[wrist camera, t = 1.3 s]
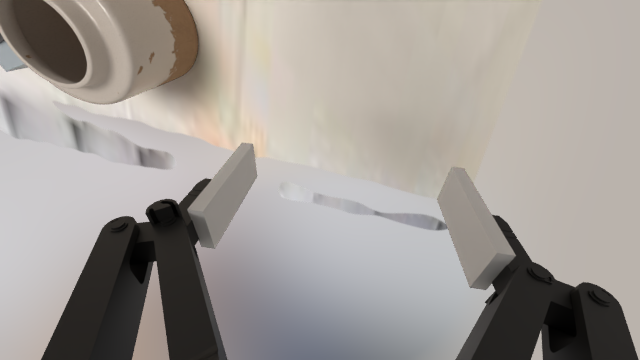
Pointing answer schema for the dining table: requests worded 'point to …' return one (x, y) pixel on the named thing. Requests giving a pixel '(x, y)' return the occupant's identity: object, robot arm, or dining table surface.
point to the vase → (101, 44)
